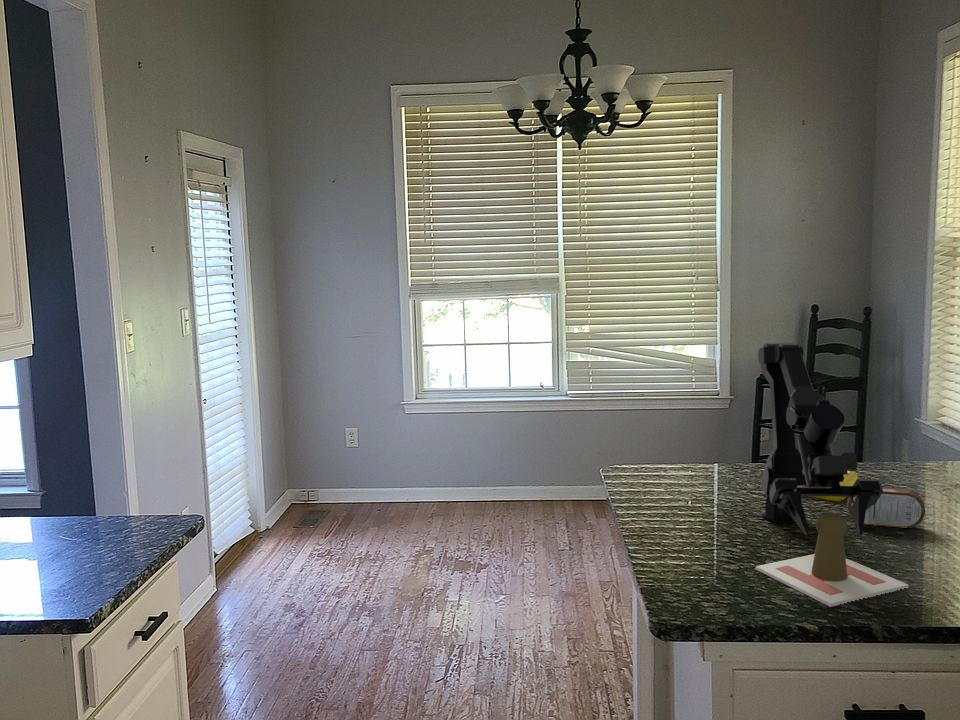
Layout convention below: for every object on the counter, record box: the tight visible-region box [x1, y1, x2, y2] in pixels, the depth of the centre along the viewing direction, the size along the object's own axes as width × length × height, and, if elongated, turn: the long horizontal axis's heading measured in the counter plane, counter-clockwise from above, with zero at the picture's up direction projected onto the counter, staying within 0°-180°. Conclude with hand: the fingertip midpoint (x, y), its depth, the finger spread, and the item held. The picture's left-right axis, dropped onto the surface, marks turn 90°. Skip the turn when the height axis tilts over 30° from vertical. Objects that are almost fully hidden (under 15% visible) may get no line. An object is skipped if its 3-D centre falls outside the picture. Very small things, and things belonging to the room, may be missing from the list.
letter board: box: [755, 553, 909, 608], centre depth 149 cm, size 18×18×1 cm
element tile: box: [807, 470, 858, 502], centre depth 203 cm, size 15×15×5 cm
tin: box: [846, 486, 926, 529], centre depth 175 cm, size 15×3×8 cm, turn 71°
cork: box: [811, 513, 848, 581], centre depth 148 cm, size 6×6×11 cm
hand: (833, 534), depth 146 cm, fingers open, 9 cm apart
